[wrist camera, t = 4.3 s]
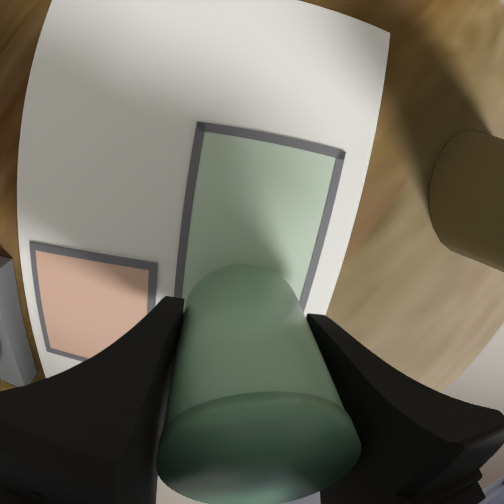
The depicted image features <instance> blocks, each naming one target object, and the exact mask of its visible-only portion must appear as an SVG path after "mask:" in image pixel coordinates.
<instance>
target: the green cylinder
mask: <svg viewBox="0 0 504 504" xmlns="http://www.w3.org/2000/svg"><path fill="white" fill-rule="evenodd" d="M361 449H362V448H361V442H360V440H359V437H358V435H357V432H356V430H355V427H354V425H353V423H352V420H351V418H350V416H349V414H348V413H347V412H346V411H345V410H344V407H343V405H342V402H341V400H340V397H339V395H338V393H337V390H336V388H335V385H334V383H333V381H332V378H331V376H330V373H329V371H328V369H327V366H326V364H325V362H324V359H323V357H322V355H321V352H320V350H319V348H318V345H317V343H316V341H315V338H314V336H313V334H312V331H311V329H310V327H309V324H308V322H307V320H306V317H305V315H304V313H303V310H302V308H301V306H300V304H299V301H298V299H297V297H296V295H295V293H294V291H293V289H292V288H291V286H290V285H289V284H288V283H287V282H286V281H285V280H284V279H283V278H282V277H281V276H279V275H278V274H276V273H274V272H272V271H270V270H268V269H265V268H262V267H259V266H253V265H234V266H229V267H224V268H221V269H218V270H216V271H214V272H212V273H210V274H208V275H207V276H205V277H204V278H203V279H201V280H200V281H199V282H198V283H197V284H196V285H195V286H194V288H193V289H192V290H191V292H190V294H189V296H188V298H187V300H186V303H185V307H184V312H183V318H182V323H181V328H180V333H179V337H178V343H177V348H176V353H175V359H174V364H173V370H172V376H171V382H170V388H169V394H168V400H167V406H166V413H165V419H164V426H163V430H162V432H161V434H160V438H159V443H158V450H157V458H156V471H157V473H158V476H159V477H160V479H161V480H162V481H163V482H164V483H165V484H166V485H167V486H168V487H170V488H171V489H172V490H174V491H176V492H177V493H179V494H181V495H183V496H186V497H188V498H191V499H193V500H196V501H200V502H204V503H208V504H282V503H286V502H291V501H294V500H298V499H301V498H304V497H307V496H310V495H312V494H314V493H317V492H319V491H321V490H323V489H325V488H327V487H329V486H331V485H332V484H334V483H335V482H337V481H338V480H340V479H341V478H342V477H344V476H345V475H346V474H347V473H348V472H349V471H350V470H351V469H352V468H353V467H354V466H355V464H356V463H357V461H358V459H359V457H360V455H361Z"/></svg>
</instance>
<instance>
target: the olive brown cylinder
mask: <svg viewBox="0 0 504 504" xmlns="http://www.w3.org/2000/svg"><path fill="white" fill-rule="evenodd" d="M429 209H430V214H431V219H432V224H433V228H434V230H435V232H436V234H437V236H438V237H439V239H440V241H441V242H442V243H443V244H444V245H445V246H446V247H447V248H448V249H450V250H451V251H453V252H456V253H458V254H461V255H463V256H466V257H468V258H471V259H473V260H476V261H478V262H481V263H483V264H486V265H488V266H491V267H493V268H495V269H498V270H500V271H502V272H504V139H501V138H498V137H494V136H491V135H488V134H485V133H481V132H475V131H465V132H463V133H461V134H458V135H456V136H454V137H453V138H452V139H451V140H450V142H449V143H448V144H447V145H446V146H445V147H444V148H443V150H442V152H441V154H440V156H439V158H438V160H437V162H436V164H435V166H434V171H433V175H432V180H431V184H430V203H429Z"/></svg>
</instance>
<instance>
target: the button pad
mask: <svg viewBox="0 0 504 504" xmlns="http://www.w3.org/2000/svg"><path fill="white" fill-rule="evenodd" d="M36 374H37V369H36V366H35V362H34V359H33V356H32V352H31V349H30V345H29V341H28V338H27V334H26V330H25V325H24V321H23V317H22V312H21V307H20V302H19V297H18V291H17V285H16V279H15V272H14V265H13V259H11V258H7V257H3V256H0V379H1V380H3V381H5V382H7V383H10V384H12V385H14V386H17V387H21V386H25V385H28V384H31V382H32V380H33V379H34V377H35V375H36Z"/></svg>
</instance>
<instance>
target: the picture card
mask: <svg viewBox="0 0 504 504" xmlns="http://www.w3.org/2000/svg"><path fill="white" fill-rule="evenodd" d="M389 41H390V33H389V32H387V31H385V30H382V29H380V28H378V27H375V26H373V25H370V24H368V23H366V22H363V21H360V20H358V19H355V18H353V17H350V16H347V15H344V14H342V13H339V12H336V11H333V10H330V9H326V8H323V7H320V6H317V5H313V4H310V3H306V2H302V1H299V0H52V2H51V5H50V7H49V10H48V13H47V16H46V19H45V22H44V25H43V28H42V31H41V34H40V37H39V41H38V44H37V48H36V51H35V55H34V59H33V63H32V67H31V71H30V76H29V81H28V86H27V91H26V96H25V102H24V108H23V115H22V123H21V131H20V141H19V153H18V170H17V219H18V237H19V249H20V259H21V268H22V275H23V282H24V289H25V295H26V301H27V306H28V311H29V316H30V321H31V325H32V330H33V334H34V338H35V342H36V346H37V350H38V353H39V357H40V361H41V364H42V367H43V371H44V374H45V377H46V378H49V377H51V376H54V375H56V374H59V373H61V372H63V371H66V370H68V369H70V368H72V367H74V366H76V365H78V364H79V363H81V362H83V361H85V360H87V359H89V358H91V357H93V356H94V355H96V354H98V353H99V352H101V351H102V350H104V349H105V348H107V347H108V346H110V345H111V344H112V343H114V342H115V341H116V340H118V339H119V338H120V337H121V336H123V335H124V334H125V333H126V332H128V331H129V330H130V329H131V328H133V327H134V326H135V325H136V324H137V323H138V322H139V321H140V320H141V319H142V318H144V317H145V316H146V315H147V314H148V313H149V312H150V311H151V310H152V309H153V308H154V307H155V306H156V305H157V304H158V303H159V301H160V300H161V299H162V298H164V297H165V296H170V297H177V298H184V299H185V300H184V307H185V303H186V300H187V298H188V296H189V294H190V292H191V290H192V289H193V288H194V286H195V285H196V284H197V283H198V282H199V281H200V280H201V279H203V278H204V277H205V276H207V275H208V274H210V273H212V272H214V271H216V270H218V269H221V268H224V267H229V266H234V265H253V266H259V267H262V268H265V269H268V270H270V271H272V272H274V273H276V274H278V275H279V276H281V277H282V278H283V279H284V280H285V281H286V282H287V283H288V284H289V285H290V286H291V288H292V289H293V291H294V293H295V295H296V297H297V299H298V301H299V304H300V306H301V308H302V310H303V313H304V315H305V317H306V316H307V313H310V314H321V315H326V312H327V309H328V306H329V303H330V300H331V297H332V294H333V291H334V288H335V285H336V282H337V278H338V275H339V272H340V269H341V266H342V262H343V259H344V256H345V252H346V249H347V246H348V242H349V239H350V235H351V231H352V228H353V224H354V221H355V217H356V213H357V209H358V205H359V201H360V198H361V194H362V189H363V185H364V181H365V177H366V173H367V168H368V164H369V159H370V155H371V150H372V145H373V141H374V136H375V131H376V126H377V120H378V115H379V109H380V104H381V98H382V92H383V85H384V79H385V72H386V65H387V57H388V49H389ZM183 312H184V310H183Z"/></svg>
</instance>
